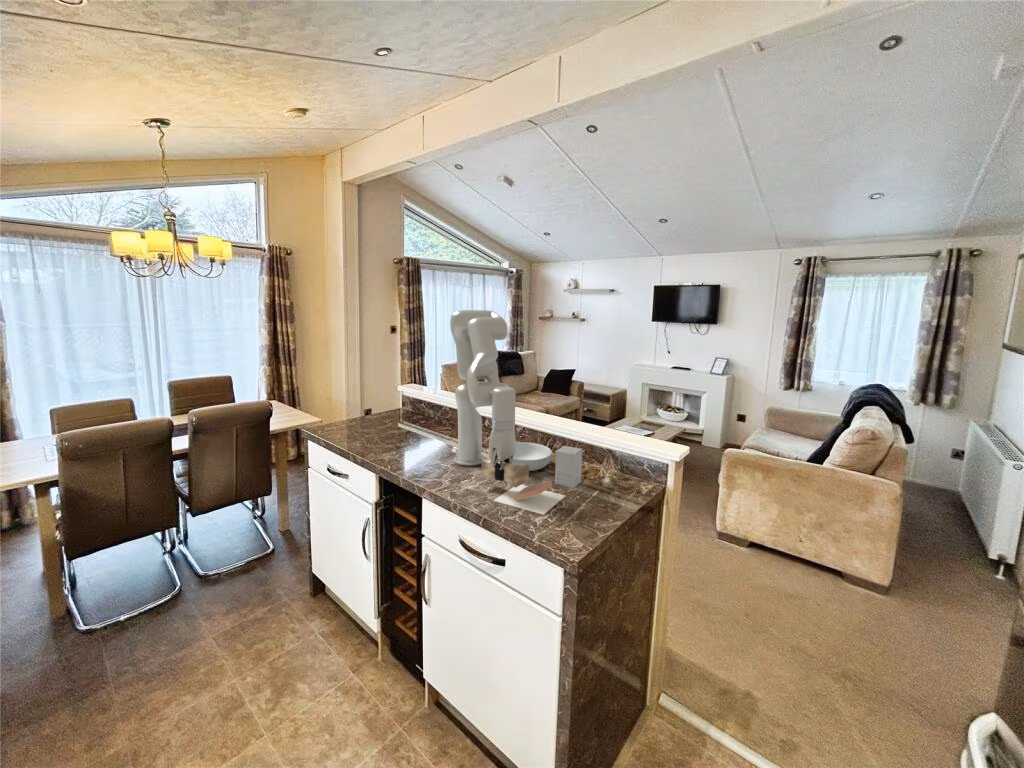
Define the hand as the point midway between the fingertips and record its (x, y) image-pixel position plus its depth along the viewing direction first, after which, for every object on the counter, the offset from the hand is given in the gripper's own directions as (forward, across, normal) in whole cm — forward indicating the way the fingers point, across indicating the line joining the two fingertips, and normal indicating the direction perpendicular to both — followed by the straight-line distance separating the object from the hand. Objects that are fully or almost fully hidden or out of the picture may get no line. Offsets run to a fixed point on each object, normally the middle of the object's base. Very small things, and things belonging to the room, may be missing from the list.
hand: (502, 477), depth 146 cm
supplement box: (+6, -19, +15) cm, 25 cm away
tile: (+4, 0, +7) cm, 8 cm away
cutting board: (+5, 0, +10) cm, 12 cm away
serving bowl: (+6, -25, -6) cm, 26 cm away
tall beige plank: (0, 0, 0) cm, 0 cm away
